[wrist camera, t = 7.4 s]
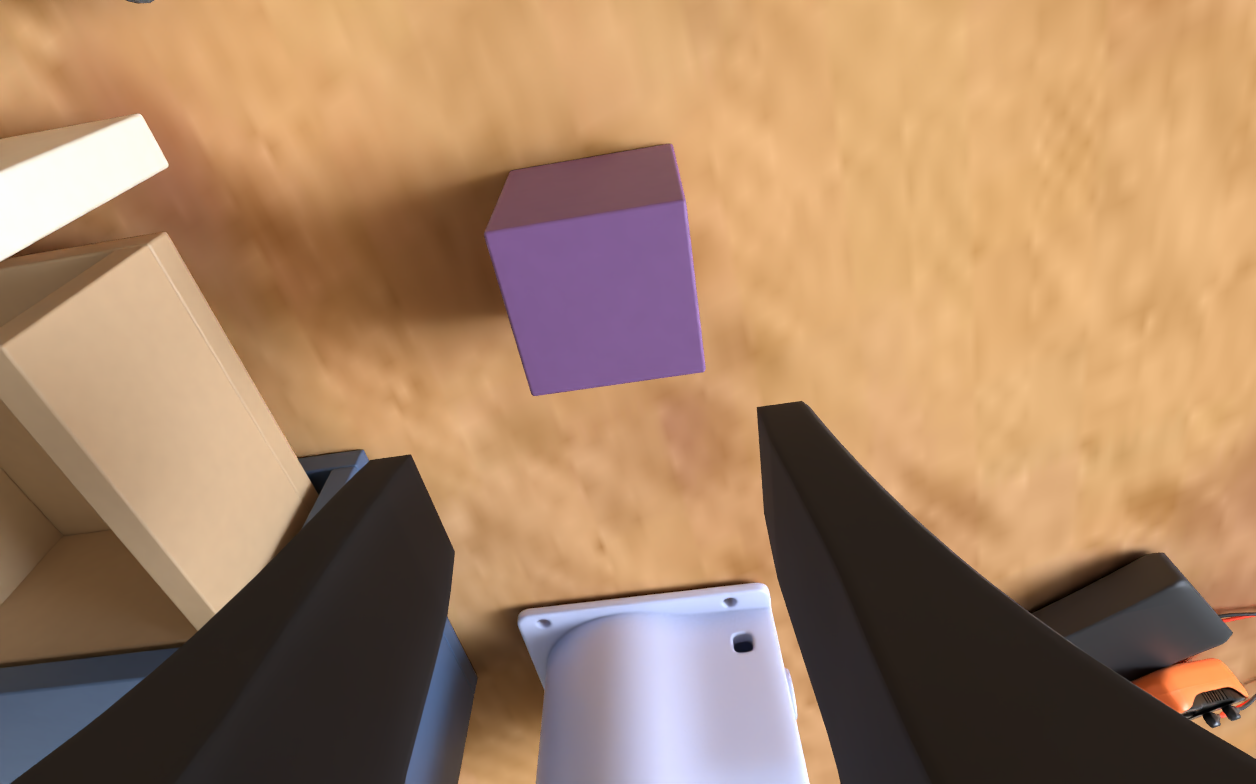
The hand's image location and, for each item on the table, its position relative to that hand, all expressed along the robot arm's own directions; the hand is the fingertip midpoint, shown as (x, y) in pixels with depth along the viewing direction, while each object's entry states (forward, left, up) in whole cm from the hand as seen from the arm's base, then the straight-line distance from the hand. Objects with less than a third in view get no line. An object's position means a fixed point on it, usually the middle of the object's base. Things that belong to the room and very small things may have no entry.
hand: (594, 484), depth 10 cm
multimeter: (-21, +23, -10) cm, 33 cm away
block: (0, 0, -9) cm, 9 cm away
